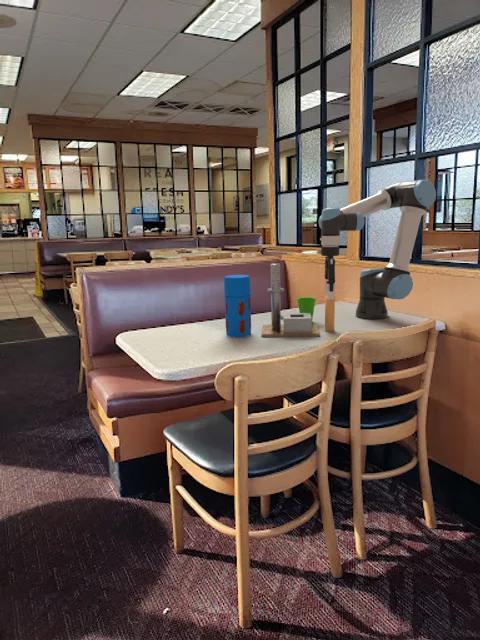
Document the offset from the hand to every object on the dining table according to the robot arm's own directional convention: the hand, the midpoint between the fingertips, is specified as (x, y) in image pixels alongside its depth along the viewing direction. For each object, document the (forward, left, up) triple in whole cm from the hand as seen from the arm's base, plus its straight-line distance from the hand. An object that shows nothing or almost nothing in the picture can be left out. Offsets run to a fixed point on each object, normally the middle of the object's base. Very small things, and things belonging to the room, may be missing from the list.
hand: (329, 296), depth 207 cm
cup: (+9, -19, -15) cm, 26 cm away
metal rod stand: (+17, +1, -15) cm, 22 cm away
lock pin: (0, 0, -15) cm, 15 cm away
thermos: (+39, +5, -15) cm, 42 cm away
